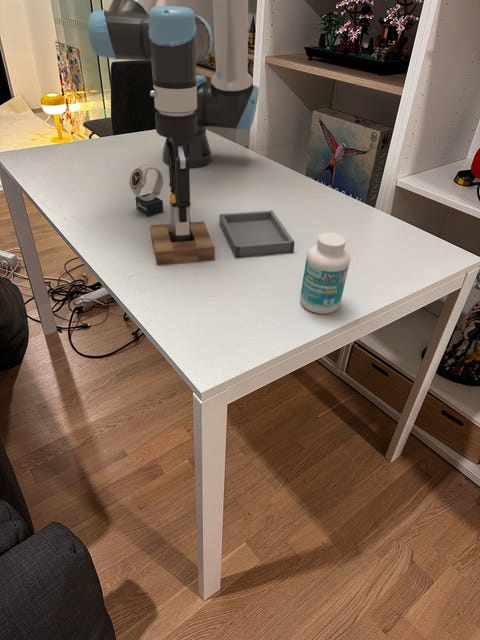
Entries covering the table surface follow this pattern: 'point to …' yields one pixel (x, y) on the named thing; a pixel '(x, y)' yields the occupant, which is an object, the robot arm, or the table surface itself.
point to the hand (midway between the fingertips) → (181, 228)
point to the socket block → (182, 245)
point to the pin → (173, 226)
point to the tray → (256, 234)
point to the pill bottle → (325, 274)
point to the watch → (149, 202)
